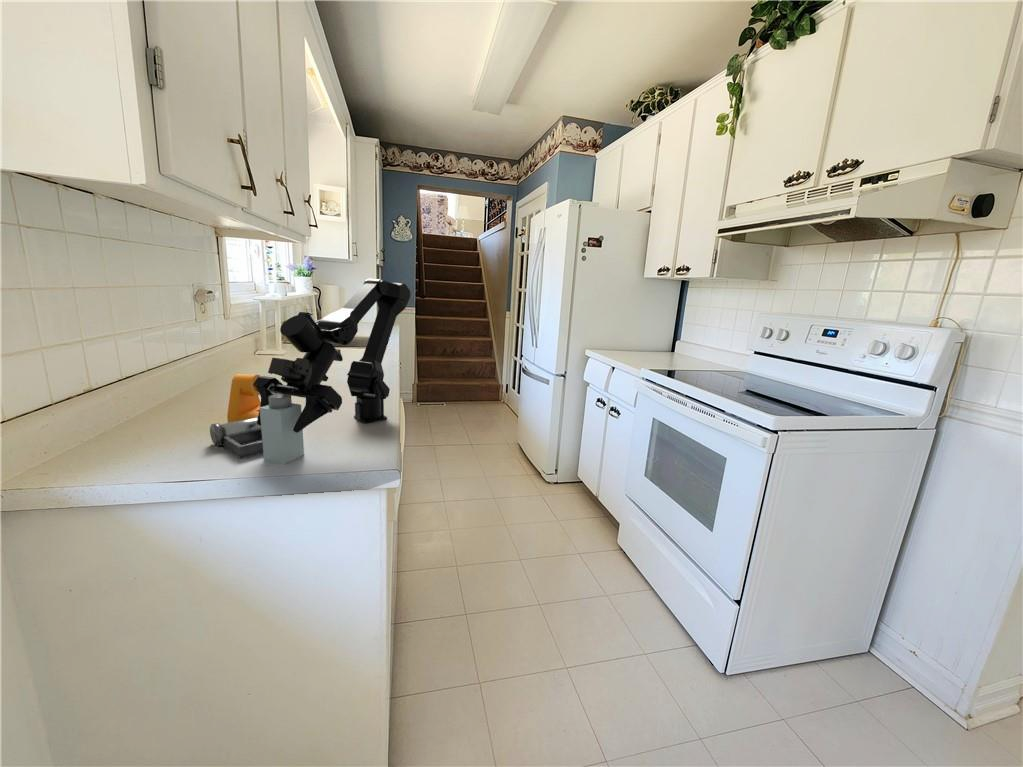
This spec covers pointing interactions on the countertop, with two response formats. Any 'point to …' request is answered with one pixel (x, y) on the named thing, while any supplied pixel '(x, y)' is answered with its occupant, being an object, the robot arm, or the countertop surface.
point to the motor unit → (238, 437)
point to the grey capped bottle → (281, 429)
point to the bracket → (243, 398)
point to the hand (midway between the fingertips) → (276, 428)
